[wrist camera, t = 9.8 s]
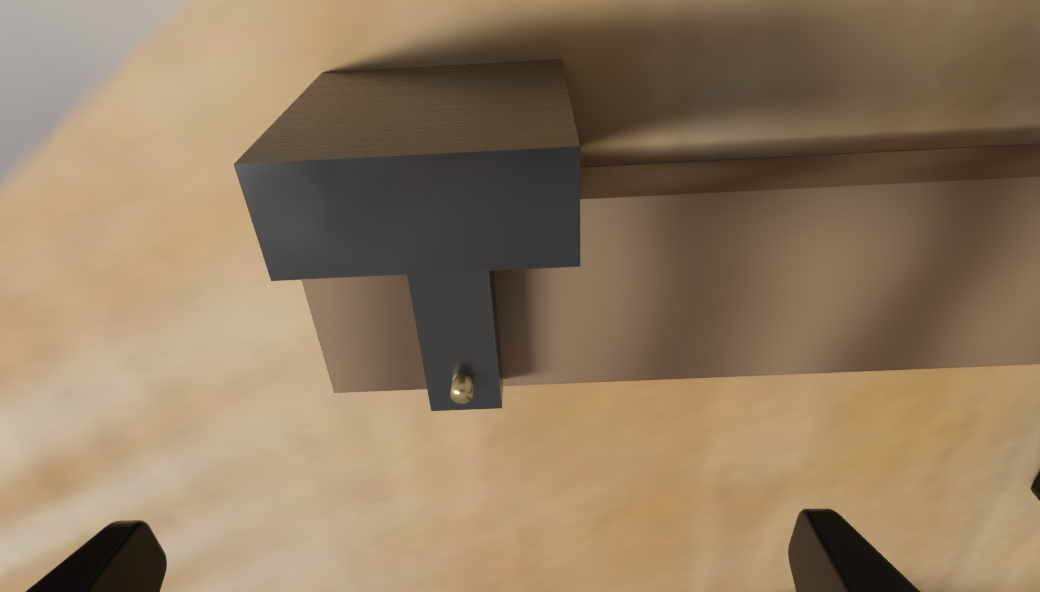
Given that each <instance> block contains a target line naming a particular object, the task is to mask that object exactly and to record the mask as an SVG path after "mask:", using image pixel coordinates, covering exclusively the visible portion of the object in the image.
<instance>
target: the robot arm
mask: <svg viewBox="0 0 1040 592" xmlns="http://www.w3.org/2000/svg"><path fill="white" fill-rule="evenodd" d="M1031 491H1032V492H1033V493H1034V495H1035V496H1036V497H1037V498H1038V500H1040V472H1039V474H1038V476H1037V477H1036V479H1035V481H1034V483H1033V484H1032V486H1031ZM788 555H789V563H790V567H791V571H792V576H793V580H794V584H795V588H796V592H920V591H919V590H918V589H917V588H916V587H915V586H914V585H913V584H912V583H911V582H910V581H908V580H907V579H906V578H905V577H904V576H903V575H902V574H901V573H900V572H899V571H898V570H897V569H896V568H895V567H894V566H893V565H892V564H891V563H890V562H889V561H888V560H886V559H885V558H884V557H883V556H882V555H881V554H880V553H879V552H878V551H877V550H876V549H875V548H874V547H873V546H872V545H871V544H870V543H869V542H868V541H867V540H866V539H865V538H863V537H862V536H861V535H860V534H859V533H858V532H857V531H856V530H855V529H854V528H853V527H852V526H851V525H850V524H849V523H848V522H847V521H846V520H845V519H844V518H843V517H841V516H840V515H839V514H838V513H837V512H835V511H833V510H831V509H803V510H802V511H801V512H800V513H799V515H798V517H797V521H796V524H795V527H794V530H793V534H792V537H791V540H790V543H789V549H788ZM166 566H167V560H166V555H165V552H164V551H163V549H162V547H161V546H160V544H159V542H158V540H157V539H156V537H155V535H154V533H153V532H152V530H151V528H150V526H149V525H148V524H147V523H146V522H144V521H141V520H134V521H116V522H113V523H111V524H109V525H107V526H106V527H105V528H103V529H102V530H101V531H100V532H98V533H97V534H96V535H95V536H94V537H92V538H91V539H90V540H89V541H87V542H86V543H85V544H84V545H82V546H81V547H80V548H79V549H78V550H76V551H75V552H74V553H73V554H71V555H70V556H69V557H68V558H66V559H65V560H64V561H63V562H61V563H60V564H59V565H58V566H57V567H55V568H54V569H53V570H52V571H50V572H49V573H48V574H47V575H45V576H44V577H43V578H42V579H41V580H39V581H38V582H37V583H36V584H34V585H33V586H32V587H31V588H29V589H28V590H27V591H26V592H160V589H161V586H162V583H163V579H164V576H165V572H166Z"/></svg>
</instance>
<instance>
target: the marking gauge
mask: <svg viewBox="0 0 1040 592" xmlns="http://www.w3.org/2000/svg"><path fill="white" fill-rule="evenodd" d="M234 166H235V170H236V173H237V176H238V179H239V182H240V185H241V188H242V191H243V194H244V197H245V201H246V204H247V207H248V210H249V213H250V216H251V219H252V222H253V225H254V229H255V232H256V235H257V238H258V241H259V244H260V247H261V250H262V253H263V257H264V260H265V263H266V266H267V269H268V272H269V275H270V278H271V281H278V280H300V279H322V278H343V277H365V276H387V275H407V278H408V284H409V289H410V295H411V300H412V306H413V311H414V317H415V323H416V328H417V334H418V339H419V345H420V350H421V356H422V361H423V367H424V373H425V378H426V384H427V389H428V395H429V400H430V406H431V411H442V410H467V409H493V408H502V392H503V375H502V364H501V353H500V342H499V331H498V320H497V309H496V298H495V287H494V276H493V271H495V270H517V269H539V268H561V267H580V143H579V138H578V134H577V129H576V125H575V120H574V115H573V111H572V106H571V102H570V97H569V92H568V88H567V83H566V78H565V74H564V69H563V65H562V60H561V59H556V60H538V61H520V62H502V63H484V64H466V65H448V66H430V67H412V68H394V69H376V70H358V71H340V72H322V73H321V74H320V75H319V76H318V78H317V79H316V80H315V81H314V82H313V83H312V84H311V85H310V86H309V87H308V88H307V89H306V90H305V91H304V92H303V93H302V94H301V95H300V96H299V97H298V98H297V99H296V100H295V101H294V102H293V103H292V104H291V106H290V107H289V108H288V109H287V110H286V111H285V112H284V113H283V114H282V115H281V116H280V117H279V118H278V119H277V120H276V121H275V122H274V123H273V124H272V125H271V126H270V127H269V128H268V129H267V130H266V131H265V132H264V134H263V135H262V136H261V137H260V138H259V139H258V140H257V141H256V142H255V143H254V144H253V145H252V146H251V147H250V148H249V149H248V150H247V151H246V152H245V153H244V154H243V155H242V156H241V157H240V158H239V159H238V160H237V162H236V163H235V164H234Z"/></svg>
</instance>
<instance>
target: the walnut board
mask: <svg viewBox="0 0 1040 592" xmlns="http://www.w3.org/2000/svg"><path fill="white" fill-rule="evenodd" d="M493 276H494V287H495V298H496V309H497V320H498V331H499V342H500V353H501V364H502V375H503V386H514V385H538V384H563V383H587V382H612V381H637V380H661V379H686V378H710V377H735V376H760V375H784V374H809V373H833V372H858V371H883V370H907V369H932V368H956V367H981V366H1005V365H1030V364H1040V144H1029V145H1010V146H990V147H970V148H951V149H931V150H912V151H892V152H873V153H853V154H834V155H814V156H795V157H775V158H756V159H736V160H717V161H697V162H677V163H658V164H638V165H619V166H599V167H580V267H561V268H539V269H517V270H495V271H493ZM301 280H302V283H303V287H304V290H305V294H306V297H307V301H308V304H309V307H310V311H311V314H312V318H313V321H314V325H315V328H316V331H317V335H318V338H319V342H320V345H321V349H322V352H323V355H324V359H325V362H326V366H327V369H328V373H329V376H330V380H331V383H332V386H333V390H334V393H342V392H366V391H391V390H415V389H427V384H426V378H425V373H424V367H423V361H422V356H421V350H420V345H419V339H418V334H417V328H416V323H415V317H414V311H413V306H412V300H411V295H410V289H409V284H408V278H407V275H387V276H365V277H343V278H322V279H301Z"/></svg>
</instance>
